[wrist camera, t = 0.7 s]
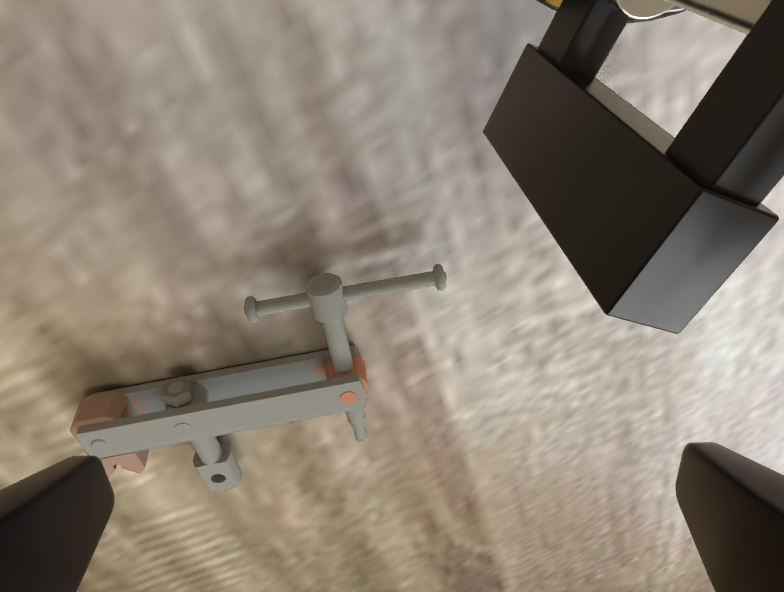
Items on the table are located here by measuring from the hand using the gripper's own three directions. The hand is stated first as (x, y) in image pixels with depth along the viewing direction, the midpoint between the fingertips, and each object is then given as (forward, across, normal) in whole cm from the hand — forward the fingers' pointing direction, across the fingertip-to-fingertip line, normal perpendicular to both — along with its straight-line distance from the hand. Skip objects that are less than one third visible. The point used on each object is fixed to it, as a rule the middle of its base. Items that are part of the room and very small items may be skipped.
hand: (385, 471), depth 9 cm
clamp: (+13, -6, -7) cm, 16 cm away
